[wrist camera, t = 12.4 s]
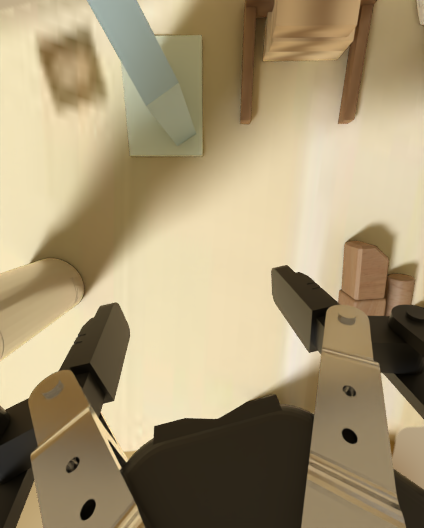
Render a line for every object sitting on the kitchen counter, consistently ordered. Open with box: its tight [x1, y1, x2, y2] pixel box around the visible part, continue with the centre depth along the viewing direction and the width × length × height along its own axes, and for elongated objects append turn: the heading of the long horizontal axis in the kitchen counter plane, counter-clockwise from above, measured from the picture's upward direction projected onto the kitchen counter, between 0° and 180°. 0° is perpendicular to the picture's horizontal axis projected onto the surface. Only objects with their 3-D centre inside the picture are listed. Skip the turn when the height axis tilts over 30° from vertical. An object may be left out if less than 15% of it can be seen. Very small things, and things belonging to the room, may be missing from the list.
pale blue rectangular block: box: [87, 0, 196, 146], centre depth 22 cm, size 3×9×13 cm, turn 30°
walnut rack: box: [240, 0, 377, 124], centre depth 25 cm, size 14×12×3 cm
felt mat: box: [121, 35, 203, 156], centre depth 28 cm, size 10×13×1 cm
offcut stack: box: [263, 0, 361, 61], centre depth 24 cm, size 9×4×5 cm, turn 90°
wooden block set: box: [338, 241, 415, 316], centre depth 32 cm, size 17×6×18 cm
